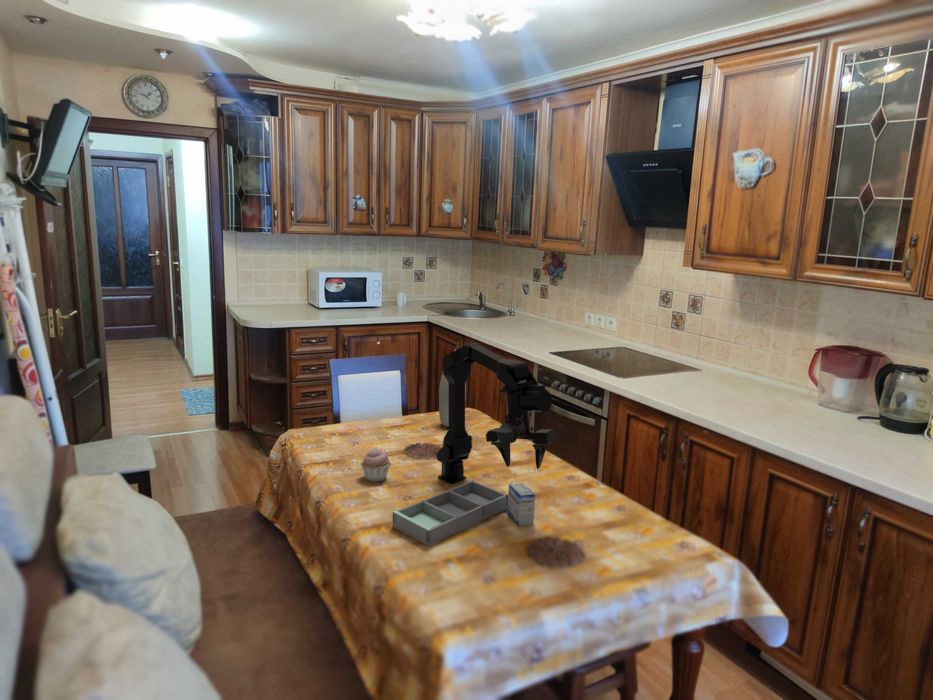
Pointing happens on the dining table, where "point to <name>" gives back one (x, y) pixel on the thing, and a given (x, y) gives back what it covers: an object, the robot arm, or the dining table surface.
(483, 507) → the grey compartment tray
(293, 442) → the dining table surface
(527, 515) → the medicine box
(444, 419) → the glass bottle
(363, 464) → the cupcake
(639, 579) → the dining table surface
